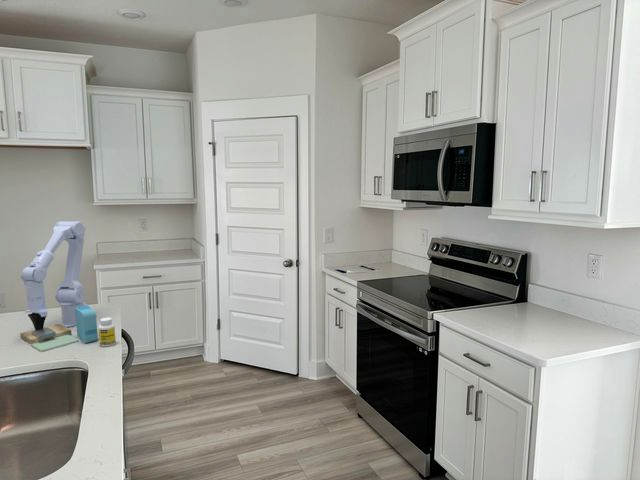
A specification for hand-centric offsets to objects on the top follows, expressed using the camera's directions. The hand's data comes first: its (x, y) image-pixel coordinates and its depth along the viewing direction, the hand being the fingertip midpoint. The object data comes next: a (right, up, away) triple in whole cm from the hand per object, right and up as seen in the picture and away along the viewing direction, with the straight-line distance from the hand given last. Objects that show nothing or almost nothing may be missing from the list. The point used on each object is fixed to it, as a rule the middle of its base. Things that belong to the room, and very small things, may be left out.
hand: (39, 330), depth 173 cm
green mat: (+10, -4, -6) cm, 12 cm away
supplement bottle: (+30, -4, -7) cm, 32 cm away
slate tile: (+4, -1, -3) cm, 5 cm away
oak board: (+2, -3, +2) cm, 3 cm away
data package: (+20, -3, -1) cm, 20 cm away
